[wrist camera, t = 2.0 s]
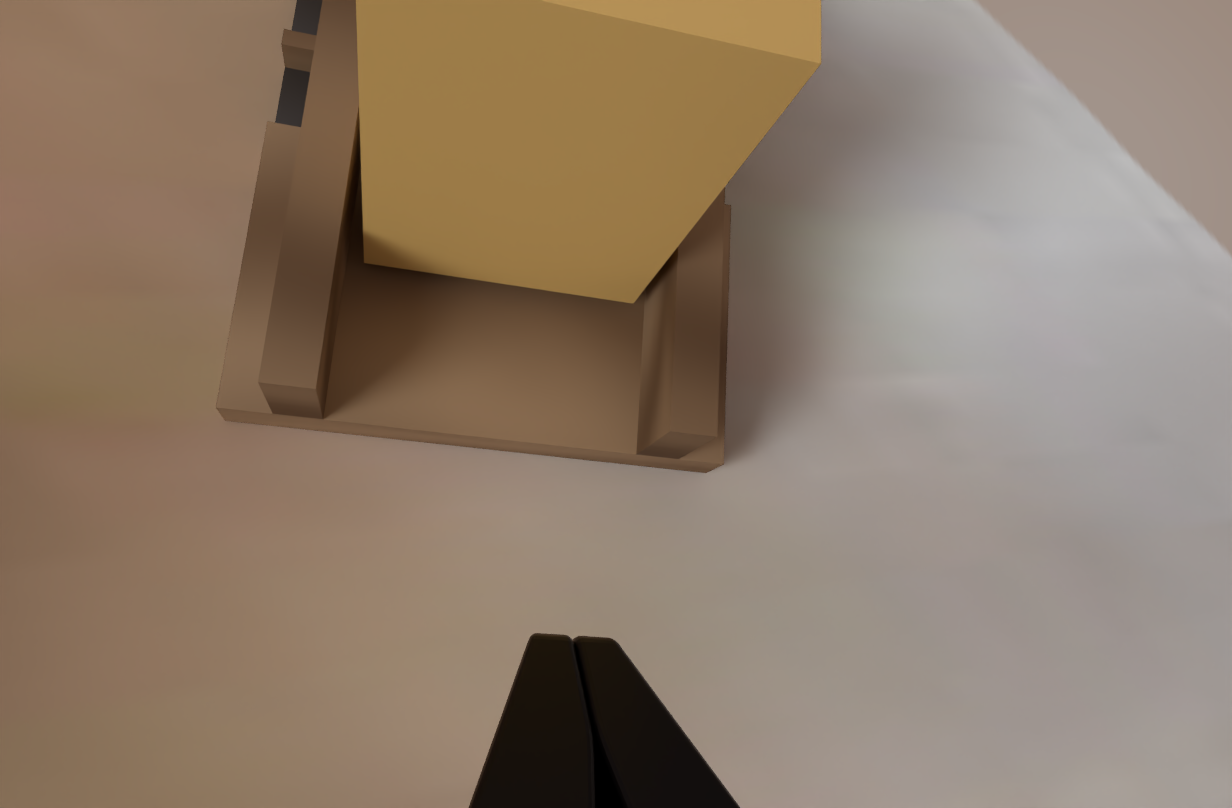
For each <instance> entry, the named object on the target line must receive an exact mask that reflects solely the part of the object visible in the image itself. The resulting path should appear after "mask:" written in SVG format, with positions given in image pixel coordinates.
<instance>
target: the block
mask: <svg viewBox="0 0 1232 808" xmlns="http://www.w3.org/2000/svg"><path fill="white" fill-rule="evenodd" d="M356 21H357V53H358V85H359V117H360V150H361V182H362V214H363V246H364V263H368V264H375V265H381V266H388V267H395V268H401V269H408V270H414V271H421V272H428V273H434V274H441V275H447V276H454V277H461V278H467V279H474V280H481V281H487V282H494V283H500V284H507V285H514V286H520V287H527V288H533V289H540V290H547V291H553V292H560V293H566V294H573V295H580V296H586V297H593V298H600V299H606V300H613V301H619V302H626V303H634V302H635V301H636V300H637V298H638V297H639V296H640V294H641V293H642V292H643V291H644V289H645V288H646V287H647V285H648V284H649V283H650V282H651V280H652V279H653V278H654V277H655V275H656V274H657V273H658V271H659V270H660V269H661V268H662V266H663V265H664V264H665V262H666V261H667V260H668V259H669V257H670V256H671V255H672V253H673V252H674V251H675V250H676V248H677V247H678V246H679V245H680V243H681V242H682V241H683V239H684V238H685V237H686V236H687V234H688V233H689V232H690V230H691V229H692V228H693V227H694V225H695V224H696V223H697V222H698V220H699V219H700V218H701V216H702V215H703V214H704V213H705V211H706V210H707V209H708V207H709V206H710V205H711V204H712V202H713V201H714V200H715V199H716V197H717V196H718V195H719V193H720V192H721V191H722V190H723V188H724V187H725V186H726V184H727V183H728V182H729V181H730V179H731V178H732V177H733V176H734V174H735V173H736V172H737V170H738V169H739V168H740V167H741V165H742V164H743V163H744V161H745V160H746V159H747V158H748V156H749V155H750V154H751V153H752V151H753V150H754V149H755V147H756V146H757V145H758V144H759V142H760V141H761V140H762V138H763V137H764V136H765V135H766V133H767V132H768V131H769V130H770V128H771V127H772V126H773V124H774V123H775V122H776V121H777V119H778V118H779V117H780V115H781V114H782V113H783V112H784V110H785V109H786V108H787V107H788V105H789V104H790V103H791V101H792V100H793V99H794V98H795V96H796V95H797V94H798V92H799V91H800V90H801V89H802V87H803V86H804V85H805V83H806V82H807V81H808V80H809V78H810V77H811V76H812V75H813V73H814V72H815V71H816V69H817V68H818V67H819V66H820V64H821V0H356Z"/></svg>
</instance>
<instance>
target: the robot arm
mask: <svg viewBox="0 0 1232 808" xmlns="http://www.w3.org/2000/svg"><path fill="white" fill-rule="evenodd" d="M469 808H740V807H739V805H738V804H737V803H736V801H735V800H734V799H733V797H732V796H731V795H730V793H729V792H728V791H727V789H726V788H725V787H724V785H723V784H722V782H721V781H720V780H719V778H718V777H717V776H716V774H715V773H714V772H713V770H712V769H711V768H710V766H709V765H708V764H707V762H706V761H705V760H704V758H703V757H702V756H701V754H700V753H699V752H698V750H697V749H696V747H695V746H694V745H693V743H692V742H691V741H690V739H689V738H688V737H687V735H686V734H685V733H684V731H683V730H682V729H681V727H680V726H679V725H678V723H677V722H676V721H675V719H674V718H673V717H672V715H671V714H670V713H669V711H668V710H667V708H666V707H665V706H664V704H663V703H662V702H661V700H660V699H659V698H658V696H657V695H656V694H655V692H654V691H653V690H652V688H651V687H650V686H649V684H648V683H647V682H646V680H645V679H644V678H643V676H642V675H641V673H640V672H639V671H638V669H637V668H636V667H635V665H634V664H633V663H632V661H631V660H630V659H629V657H628V656H627V655H626V653H625V652H624V651H623V649H622V648H621V647H620V645H619V644H618V643H617V642H616V641H615V640H613V639H611V638H603V637H588V636H578V637H576V638H574V639H573V640H572V639H571V638H570V637H569V636H567V635H557V634H541V633H535V634H533V635H532V636H531V637H530V638H529V641H528V643H527V646H526V649H525V651H524V654H523V657H522V660H521V663H520V665H519V668H518V671H517V674H516V677H515V679H514V682H513V685H512V688H511V691H510V693H509V696H508V699H507V702H506V705H505V707H504V710H503V713H502V716H501V719H500V721H499V724H498V727H497V730H496V733H495V735H494V738H493V741H492V744H491V747H490V749H489V752H488V755H487V758H486V761H485V763H484V766H483V769H482V772H481V775H480V777H479V780H478V783H477V786H476V788H475V791H474V794H473V797H472V800H471V802H470V805H469Z"/></svg>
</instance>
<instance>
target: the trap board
mask: <svg viewBox="0 0 1232 808" xmlns="http://www.w3.org/2000/svg"><path fill="white" fill-rule="evenodd" d="M282 51H283V57H284V63H285V71H284V76H283V82H282V88H281V93H280V99H279V105H278V110H277V116H276V121H275V123H274V122H269V121H267V127H266V132H265V138H264V143H263V149H262V154H261V160H260V166H259V171H258V177H257V182H256V188H255V193H254V199H253V204H252V210H251V215H250V221H249V226H248V232H247V238H246V243H245V249H244V254H243V260H242V265H241V271H240V276H239V282H238V287H237V293H236V298H235V304H234V309H233V315H232V321H231V326H230V332H229V337H228V343H227V348H226V354H225V359H224V365H223V370H222V376H221V381H220V387H219V393H218V398H217V404H216V408H217V410H218V411H219V413H220V414H221V415H222V417H223V418H224V420H225V421H234V422H244V423H253V424H262V425H271V426H280V427H289V428H299V429H308V430H317V431H326V432H335V433H344V434H354V435H363V436H372V437H381V438H390V439H399V440H409V441H418V442H427V443H436V444H445V445H455V446H464V447H473V448H482V449H491V450H500V451H510V452H519V453H528V454H537V455H546V456H555V457H565V458H574V459H583V460H592V461H601V462H610V463H620V464H629V465H638V466H647V467H656V468H665V469H675V470H684V471H693V472H702V473H707V472H709V471H711V470H713V469H715V468H717V467H719V466H721V465H723V464H724V434H725V399H726V363H727V328H728V293H729V257H730V222H731V205H726V204H724V200H725V187H724V188H723V190H722V191H721V192H720V193H719V195H718V196H717V197H716V199H715V200H714V201H713V202H712V204H711V205H710V206H709V207H708V209H707V210H706V211H705V213H704V214H703V215H702V216H701V218H700V219H699V220H698V222H697V223H696V224H695V225H694V227H693V228H692V229H691V230H690V232H689V233H688V234H687V236H686V237H685V238H684V239H683V241H682V242H681V243H680V245H679V246H678V247H677V248H676V250H675V251H674V252H673V253H672V255H671V256H670V257H669V259H668V260H667V261H666V262H665V264H664V265H663V266H662V268H661V269H660V270H659V271H658V273H657V274H656V275H655V277H654V278H653V279H652V280H651V282H650V283H649V284H648V285H647V287H646V288H645V289H644V291H643V292H642V293H641V294H640V296H639V297H638V298H637V300H636V301H635V302H634V303H626V302H619V301H613V300H606V299H600V298H593V297H586V296H580V295H573V294H566V293H560V292H553V291H547V290H540V289H533V288H527V287H520V286H514V285H507V284H500V283H494V282H487V281H481V280H474V279H467V278H461V277H454V276H447V275H441V274H434V273H428V272H421V271H414V270H408V269H401V268H395V267H388V266H381V265H375V264H368V263H364V246H363V214H362V182H361V150H360V117H359V85H358V53H357V21H356V0H297V3H296V9H295V15H294V20H293V26H292V31H291V30H287V29H284V33H283V38H282Z"/></svg>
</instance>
